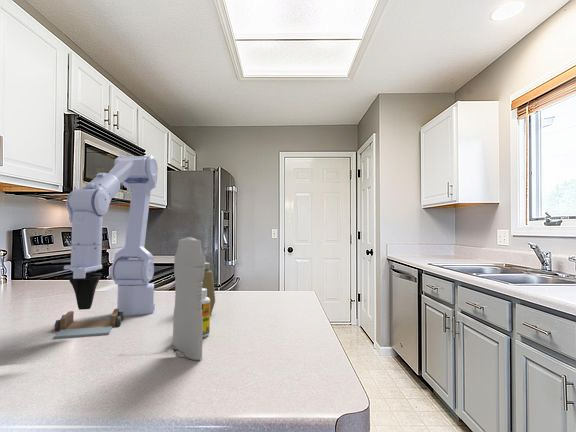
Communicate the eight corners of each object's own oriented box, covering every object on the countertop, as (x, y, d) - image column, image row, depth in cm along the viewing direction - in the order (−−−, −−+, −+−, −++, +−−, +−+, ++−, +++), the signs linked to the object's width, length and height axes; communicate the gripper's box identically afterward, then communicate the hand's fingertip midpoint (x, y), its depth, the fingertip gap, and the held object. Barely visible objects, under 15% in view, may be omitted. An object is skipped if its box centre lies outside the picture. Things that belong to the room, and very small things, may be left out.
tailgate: (112, 326, 82) (108, 332, 77) (111, 331, 82) (108, 338, 76) (61, 329, 78) (54, 336, 73) (61, 335, 78) (53, 342, 73)
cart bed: (123, 323, 91) (123, 308, 91) (119, 331, 83) (120, 315, 83) (63, 327, 87) (64, 311, 87) (54, 336, 79) (54, 319, 79)
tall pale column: (211, 358, 66) (213, 237, 67) (190, 364, 63) (193, 237, 64) (183, 345, 73) (185, 236, 75) (164, 349, 71) (166, 236, 72)
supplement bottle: (188, 340, 77) (189, 292, 77) (180, 334, 81) (181, 288, 82) (213, 336, 80) (214, 290, 80) (204, 331, 84) (205, 286, 85)
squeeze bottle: (183, 313, 103) (184, 249, 104) (211, 310, 107) (212, 249, 108) (188, 319, 96) (189, 251, 97) (218, 316, 99) (219, 250, 100)
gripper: (73, 243, 83) (71, 303, 82) (56, 246, 69) (53, 317, 69) (107, 243, 85) (105, 301, 85) (97, 245, 72) (95, 315, 71)
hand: (84, 308), depth 77 cm, fingers closed
